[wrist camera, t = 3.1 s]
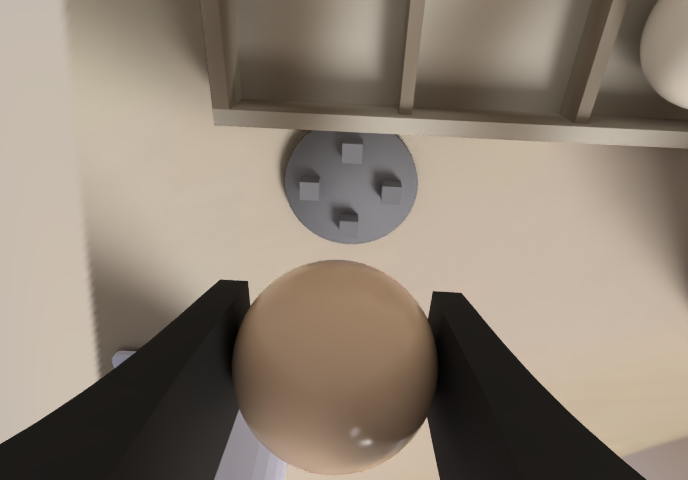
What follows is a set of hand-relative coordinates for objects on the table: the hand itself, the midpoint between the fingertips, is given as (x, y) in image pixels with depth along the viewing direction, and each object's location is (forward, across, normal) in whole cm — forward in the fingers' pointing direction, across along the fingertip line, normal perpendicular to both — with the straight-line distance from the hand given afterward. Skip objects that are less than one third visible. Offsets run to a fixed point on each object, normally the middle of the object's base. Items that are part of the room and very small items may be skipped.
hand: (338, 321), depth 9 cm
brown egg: (+1, 0, 0) cm, 1 cm away
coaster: (+8, 0, 0) cm, 8 cm away
